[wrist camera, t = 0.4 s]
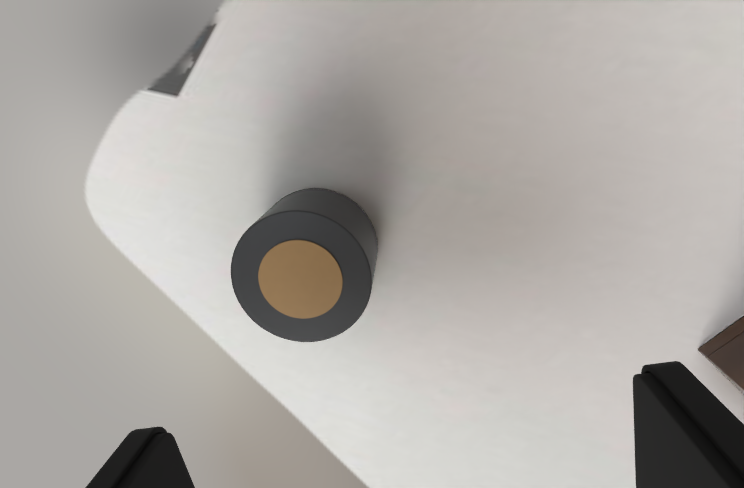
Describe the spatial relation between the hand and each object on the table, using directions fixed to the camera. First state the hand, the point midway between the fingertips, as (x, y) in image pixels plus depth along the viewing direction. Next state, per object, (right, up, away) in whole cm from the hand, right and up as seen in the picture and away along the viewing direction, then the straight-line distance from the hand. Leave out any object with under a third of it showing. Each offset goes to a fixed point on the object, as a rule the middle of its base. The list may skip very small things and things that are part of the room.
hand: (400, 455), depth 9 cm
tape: (-3, +4, +15) cm, 16 cm away
